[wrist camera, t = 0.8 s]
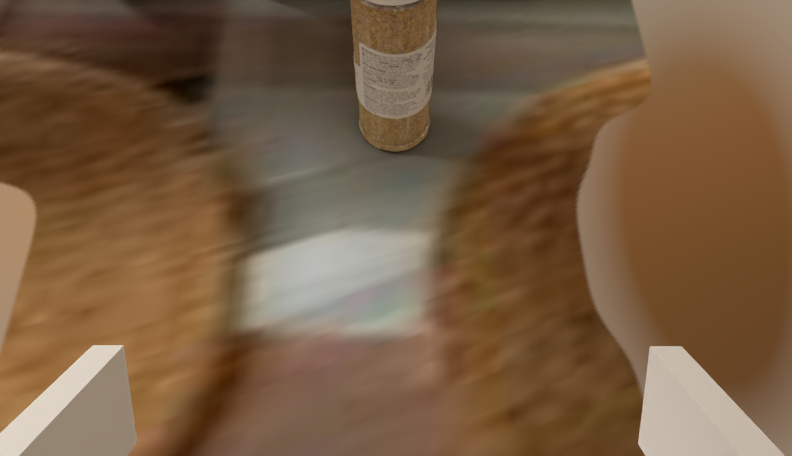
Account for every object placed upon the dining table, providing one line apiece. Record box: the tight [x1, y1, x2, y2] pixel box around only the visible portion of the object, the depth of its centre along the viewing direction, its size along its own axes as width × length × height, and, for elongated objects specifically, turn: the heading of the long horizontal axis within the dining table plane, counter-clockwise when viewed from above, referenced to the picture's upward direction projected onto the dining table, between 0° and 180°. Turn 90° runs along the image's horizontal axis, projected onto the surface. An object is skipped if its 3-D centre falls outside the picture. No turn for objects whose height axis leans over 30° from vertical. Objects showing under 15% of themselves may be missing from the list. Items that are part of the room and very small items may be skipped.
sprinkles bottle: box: [350, 0, 437, 152], centre depth 33 cm, size 5×5×13 cm
